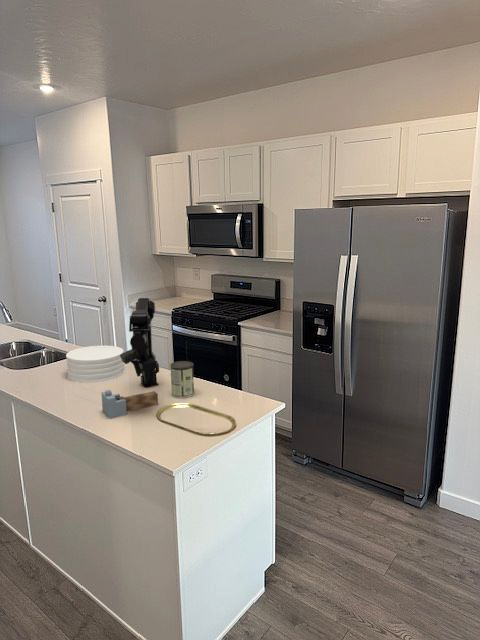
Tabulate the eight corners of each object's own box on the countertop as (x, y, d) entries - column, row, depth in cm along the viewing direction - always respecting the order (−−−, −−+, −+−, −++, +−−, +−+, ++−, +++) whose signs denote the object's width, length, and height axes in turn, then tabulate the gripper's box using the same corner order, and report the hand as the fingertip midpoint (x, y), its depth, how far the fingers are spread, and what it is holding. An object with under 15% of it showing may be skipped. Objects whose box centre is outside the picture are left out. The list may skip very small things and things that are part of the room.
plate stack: (102, 362, 248) (100, 342, 246) (135, 371, 232) (134, 350, 230) (56, 375, 226) (54, 354, 224) (90, 386, 210) (88, 363, 208)
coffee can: (179, 388, 207) (178, 359, 204) (198, 392, 203) (197, 362, 200) (166, 396, 198) (165, 365, 195) (186, 399, 194) (185, 368, 191)
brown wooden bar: (154, 402, 191) (154, 389, 190) (158, 404, 188) (157, 392, 187) (118, 410, 183) (117, 397, 181) (121, 413, 180) (120, 400, 179)
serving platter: (214, 442, 156) (214, 438, 155) (146, 417, 176) (146, 414, 176) (245, 423, 171) (245, 420, 170) (179, 403, 191) (179, 399, 190)
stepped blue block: (119, 407, 185) (118, 384, 183) (126, 414, 178) (125, 390, 176) (102, 410, 182) (101, 387, 180) (109, 418, 174) (107, 394, 172)
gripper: (114, 341, 184) (116, 376, 188) (129, 350, 169) (131, 389, 172) (139, 337, 190) (141, 372, 193) (156, 346, 175) (158, 384, 178)
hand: (142, 379), depth 184 cm, fingers open, 9 cm apart
